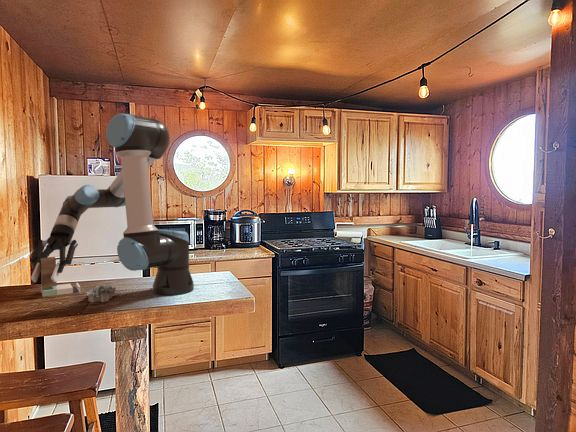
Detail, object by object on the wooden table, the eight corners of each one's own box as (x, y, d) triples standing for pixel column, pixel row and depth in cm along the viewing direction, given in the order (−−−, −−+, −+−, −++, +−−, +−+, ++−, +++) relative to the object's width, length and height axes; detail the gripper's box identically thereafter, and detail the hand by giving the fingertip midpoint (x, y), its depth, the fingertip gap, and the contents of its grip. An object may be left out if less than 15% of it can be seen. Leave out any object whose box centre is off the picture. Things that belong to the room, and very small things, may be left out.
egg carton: (107, 303, 135) (106, 291, 135) (84, 303, 134) (84, 291, 134) (118, 294, 146) (118, 283, 145) (97, 294, 145) (97, 283, 145)
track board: (80, 292, 147) (80, 286, 147) (42, 296, 140) (42, 291, 140) (77, 287, 153) (77, 282, 152) (41, 292, 146) (41, 287, 145)
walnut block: (56, 286, 143) (55, 258, 143) (42, 287, 141) (41, 260, 140) (55, 283, 147) (54, 256, 146) (41, 285, 144) (40, 258, 144)
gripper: (92, 235, 159) (75, 285, 144) (42, 234, 157) (19, 285, 142) (86, 223, 153) (67, 274, 138) (34, 222, 151) (10, 274, 136)
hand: (43, 280), depth 140 cm, fingers closed on walnut block, 6 cm apart
